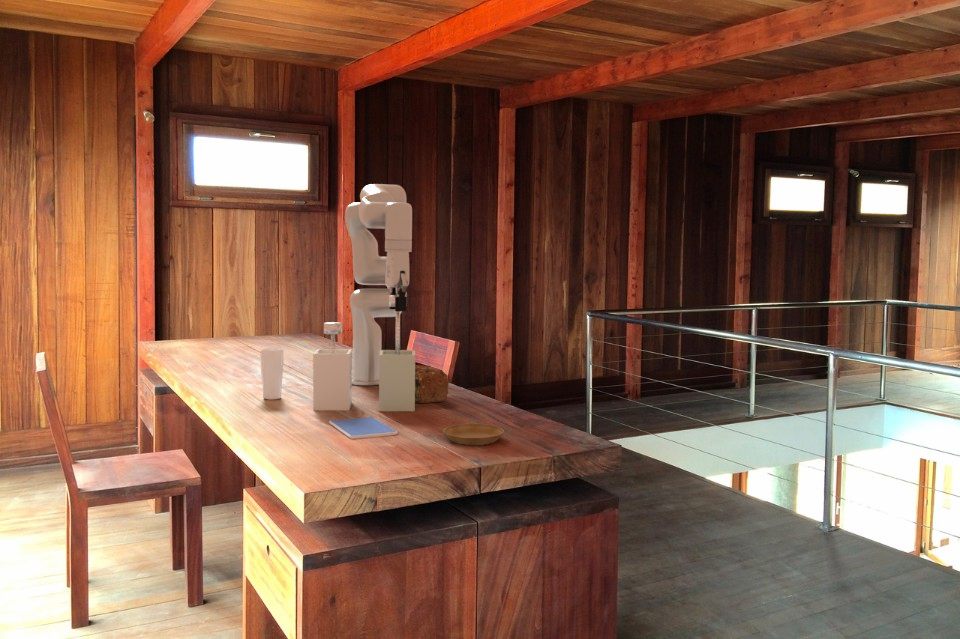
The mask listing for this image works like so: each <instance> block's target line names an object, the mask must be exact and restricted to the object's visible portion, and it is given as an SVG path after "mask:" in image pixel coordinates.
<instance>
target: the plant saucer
mask: <svg viewBox="0 0 960 639" xmlns="http://www.w3.org/2000/svg"><path fill="white" fill-rule="evenodd" d="M504 432H505V430H504V429H503V428H502V427H499V426H498V425H491V424H487V423H460V424H454V425H450V426H447V427H445V428H443V433H444V434H445V436H446V437H447V438H448V439H449V440H451V441H452V442H453V443H455V444H459V445H463V444H465V445H464V446H484V444H486V445H491V444H493V443H495V442H496V441H498V440H499V439H500V438H501V436H502V435H503V434H504ZM490 443H491V444H490Z"/></svg>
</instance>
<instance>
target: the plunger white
mask: <svg viewBox="0 0 960 639" xmlns="http://www.w3.org/2000/svg"><path fill="white" fill-rule="evenodd" d="M342 333H343V322H339V321H338V322H335V321H331V322H330V321H329V322H323V334H324V335H329V336H330V349H331V354H335V349H336V335H342Z"/></svg>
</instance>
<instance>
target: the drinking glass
mask: <svg viewBox="0 0 960 639" xmlns="http://www.w3.org/2000/svg"><path fill="white" fill-rule="evenodd" d="M259 355H260V357H259V359H260V360H259V361H260V371H261V381H262V382H261V384H262V397H263V399H264V400H267V401H269V400H271V401H272V400H273V401H274V400H279V399H281V398H282V387H283V376H284V374H283V373H284V365H285V364H284V363H285V362H284V360H285V359H284V358H285V357H284V355H285V354H284V348H282V347H263V348H261V349H260V354H259Z"/></svg>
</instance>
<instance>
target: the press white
mask: <svg viewBox="0 0 960 639" xmlns="http://www.w3.org/2000/svg"><path fill="white" fill-rule="evenodd" d="M312 370H313V372H312V373H313V374H312V376H313V377H312V380H313V382H312V385H313V386H312V387H313V388H312V389H313V390H312V391H313V392H312V393H313V394H312V396H313V398H312V400H313V401H312V402H313V404H312V406H313V407H312V408H313V411H350V409H351V406H352V401H353V400H352V399H353V397H352V396H353V394H352V393H353V391H352V388H353V384H352V377H353V348H347V349H346V348H344V349H343V348H342V349H341V348H340V349H339V348H335V354H331V348H316V350H315V351H314V353H313V355H312Z"/></svg>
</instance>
